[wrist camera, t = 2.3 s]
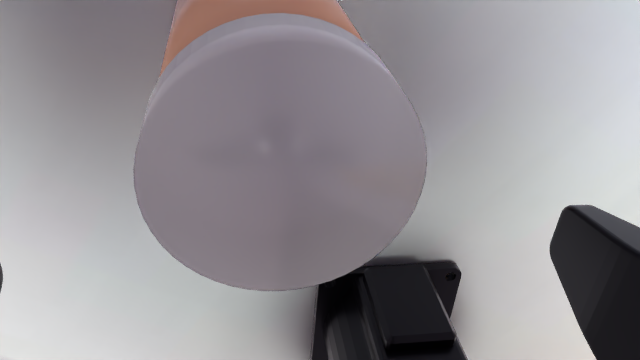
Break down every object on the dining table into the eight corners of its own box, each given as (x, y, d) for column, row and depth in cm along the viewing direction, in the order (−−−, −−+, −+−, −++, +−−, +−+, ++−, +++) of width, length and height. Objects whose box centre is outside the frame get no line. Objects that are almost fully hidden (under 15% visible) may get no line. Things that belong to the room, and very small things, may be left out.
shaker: (327, 92, 20) (404, 283, 12) (178, 91, 19) (148, 298, 11) (340, -64, 17) (451, 43, 9) (167, -72, 17) (115, 38, 8)
